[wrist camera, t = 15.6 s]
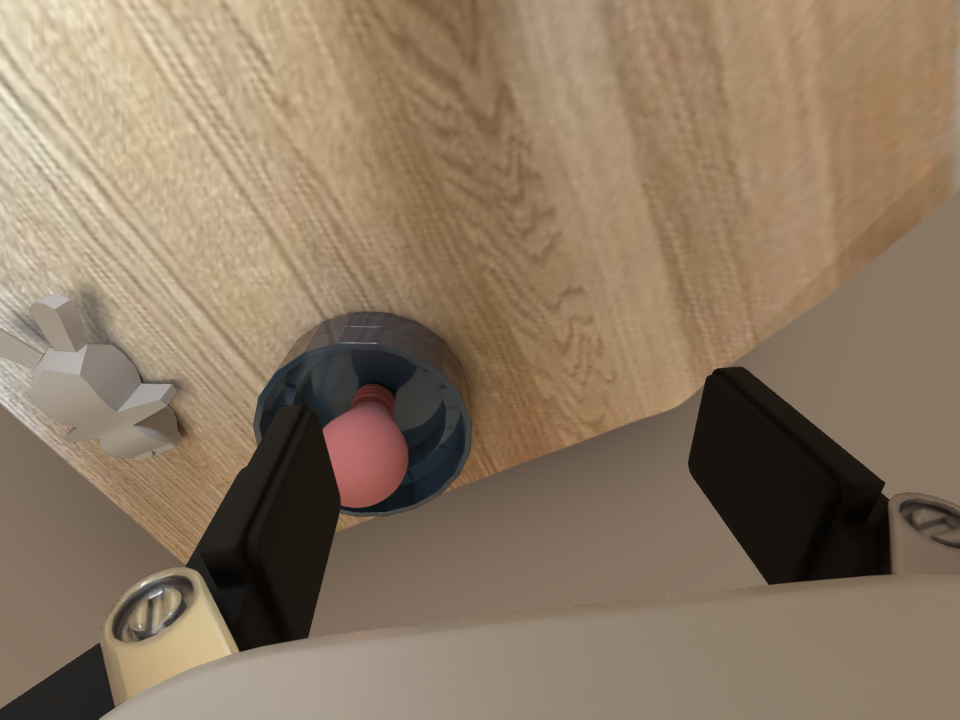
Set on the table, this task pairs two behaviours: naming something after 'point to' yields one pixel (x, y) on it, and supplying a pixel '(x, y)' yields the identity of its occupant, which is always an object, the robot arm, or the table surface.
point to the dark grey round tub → (399, 368)
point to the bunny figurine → (93, 386)
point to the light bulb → (367, 448)
